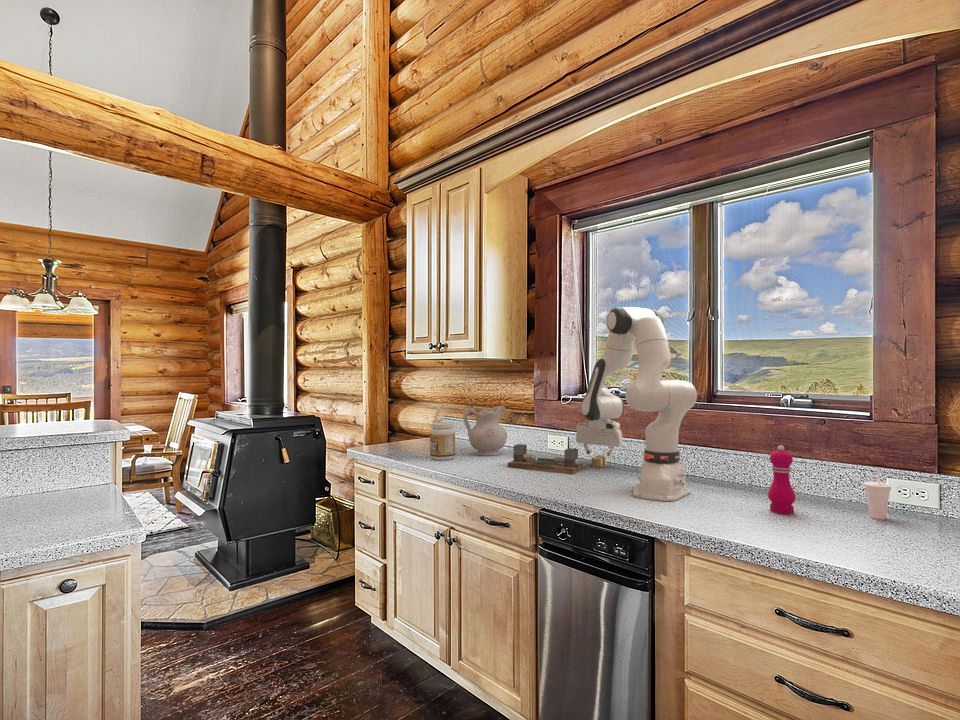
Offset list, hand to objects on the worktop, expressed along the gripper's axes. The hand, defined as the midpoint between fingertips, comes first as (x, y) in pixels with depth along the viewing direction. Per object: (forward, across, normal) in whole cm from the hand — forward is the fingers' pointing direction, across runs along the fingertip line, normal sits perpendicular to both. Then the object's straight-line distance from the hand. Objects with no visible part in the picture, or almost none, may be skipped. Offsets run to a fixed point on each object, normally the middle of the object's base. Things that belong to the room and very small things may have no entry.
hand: (598, 454), depth 229 cm
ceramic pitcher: (+6, -59, +1) cm, 59 cm away
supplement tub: (+6, -71, -19) cm, 73 cm away
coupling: (+5, 0, 0) cm, 5 cm away
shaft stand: (+5, -19, -16) cm, 25 cm away
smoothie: (+3, +94, -33) cm, 100 cm away
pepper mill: (+4, +70, -39) cm, 81 cm away
